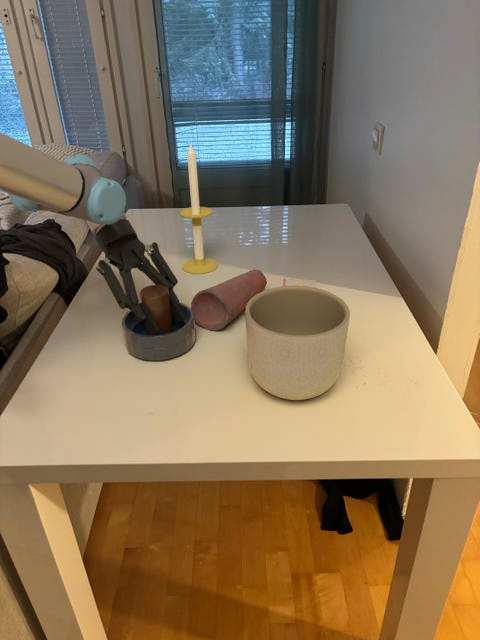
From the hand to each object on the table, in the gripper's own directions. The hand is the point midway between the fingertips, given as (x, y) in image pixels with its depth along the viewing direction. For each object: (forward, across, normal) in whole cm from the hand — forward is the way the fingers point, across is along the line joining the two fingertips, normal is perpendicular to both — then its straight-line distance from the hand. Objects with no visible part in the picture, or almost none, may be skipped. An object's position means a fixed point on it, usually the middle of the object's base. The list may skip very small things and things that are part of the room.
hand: (169, 327), depth 91 cm
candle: (-15, -30, -23) cm, 40 cm away
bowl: (+1, 0, -6) cm, 6 cm away
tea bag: (+12, -26, +4) cm, 29 cm away
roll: (0, 0, -5) cm, 5 cm away
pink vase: (+3, -20, -5) cm, 21 cm away
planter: (+21, -9, +13) cm, 27 cm away
